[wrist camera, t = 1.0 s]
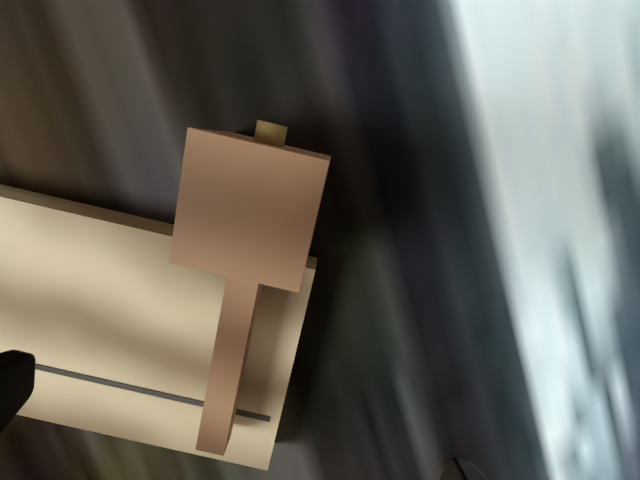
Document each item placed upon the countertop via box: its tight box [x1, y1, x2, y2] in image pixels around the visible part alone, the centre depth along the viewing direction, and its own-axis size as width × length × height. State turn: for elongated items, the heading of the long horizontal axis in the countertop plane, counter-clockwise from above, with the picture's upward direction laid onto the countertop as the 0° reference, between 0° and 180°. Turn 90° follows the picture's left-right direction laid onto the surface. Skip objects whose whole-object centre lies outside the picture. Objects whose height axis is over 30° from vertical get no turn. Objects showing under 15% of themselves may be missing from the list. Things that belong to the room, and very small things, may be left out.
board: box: [0, 184, 317, 471], centre depth 21 cm, size 12×28×2 cm, turn 77°
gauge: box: [169, 120, 331, 456], centre depth 18 cm, size 16×5×6 cm, turn 167°
